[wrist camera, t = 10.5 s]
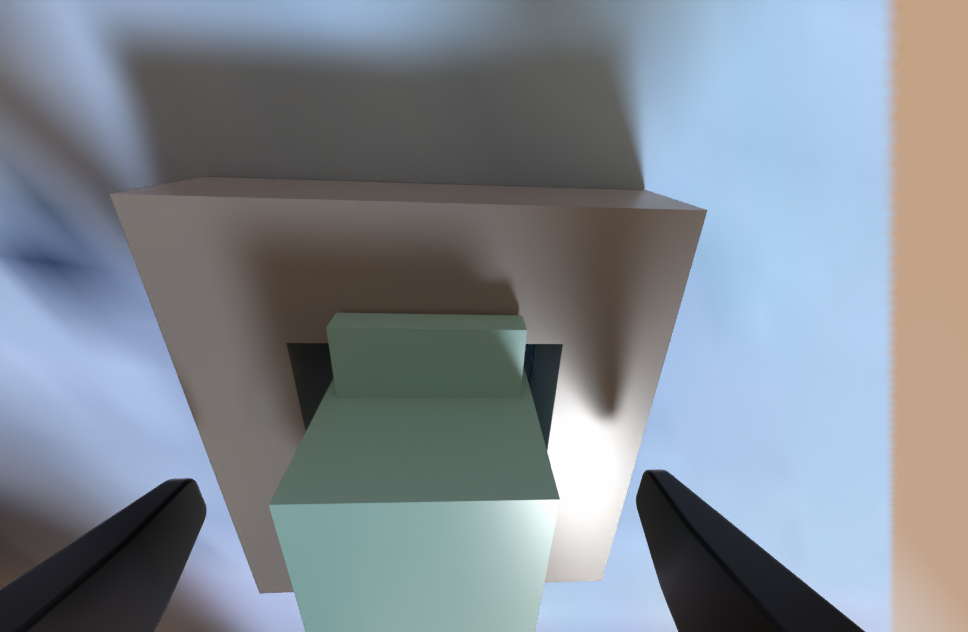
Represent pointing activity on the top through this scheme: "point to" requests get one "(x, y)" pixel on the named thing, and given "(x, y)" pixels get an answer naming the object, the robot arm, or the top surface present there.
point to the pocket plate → (412, 290)
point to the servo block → (420, 481)
